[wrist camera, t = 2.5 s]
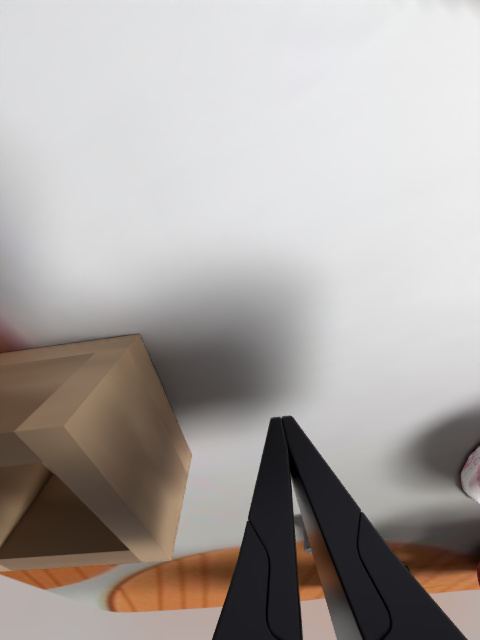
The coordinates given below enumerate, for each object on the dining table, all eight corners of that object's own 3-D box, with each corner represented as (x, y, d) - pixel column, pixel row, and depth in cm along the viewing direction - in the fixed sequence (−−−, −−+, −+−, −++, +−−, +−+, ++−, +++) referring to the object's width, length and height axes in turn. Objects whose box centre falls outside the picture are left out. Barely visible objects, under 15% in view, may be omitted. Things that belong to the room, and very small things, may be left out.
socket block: (191, 455, 12) (171, 560, 8) (58, 468, 12) (-16, 572, 9) (139, 334, 8) (63, 426, 5) (-45, 359, 9) (-240, 460, 5)
